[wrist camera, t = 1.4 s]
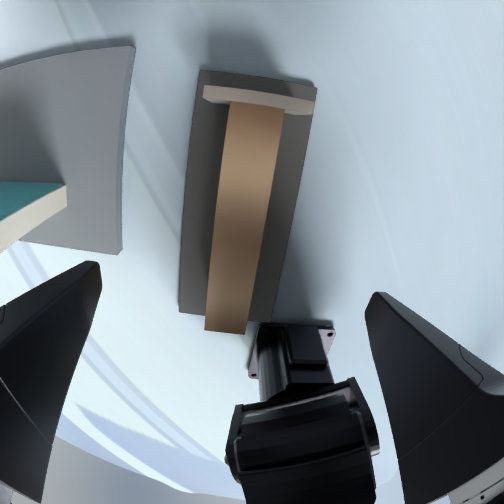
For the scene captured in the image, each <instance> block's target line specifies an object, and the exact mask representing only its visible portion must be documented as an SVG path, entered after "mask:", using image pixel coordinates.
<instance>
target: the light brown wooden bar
mask: <svg viewBox="0 0 504 504" xmlns="http://www.w3.org/2000/svg"><path fill="white" fill-rule="evenodd" d="M203 98H204V99H206V100H208V101H210V102H211V103H218V104H228V105H230V109H229V115H228V122H227V129H226V136H225V143H224V150H223V157H222V165H221V172H220V180H219V188H218V196H217V205H216V213H215V222H214V231H213V240H212V250H211V260H210V270H209V281H208V292H207V304H206V316H205V329H204V330H207V331H215V332H224V333H233V334H243V335H245V331H246V325H247V320H248V315H249V309H250V304H251V298H252V293H253V287H254V282H255V276H256V271H257V265H258V260H259V254H260V249H261V243H262V238H263V232H264V226H265V221H266V215H267V209H268V204H269V198H270V192H271V187H272V181H273V175H274V170H275V164H276V158H277V152H278V147H279V141H280V135H281V129H282V123H283V117H284V113H287V114H293V115H310V114H313V112H314V106H315V102H312V101H308V100H303V99H298V98H293V97H288V96H283V95H277V94H272V93H266V92H259V91H252V90H245V89H237V88H229V87H220V86H209V85H204V91H203Z"/></svg>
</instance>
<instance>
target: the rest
mask: <svg viewBox="0 0 504 504" xmlns="http://www.w3.org/2000/svg"><path fill="white" fill-rule="evenodd" d="M204 85H209V86H220V87H229V88H237V89H245V90H252V91H259V92H266V93H272V94H277V95H283V96H288V97H293V98H298V99H303V100H308V101H312V102H315V100H316V94H317V88H316V87H311V86H307V85H302V84H297V83H293V82H287V81H282V80H277V79H271V78H265V77H258V76H251V75H244V74H236V73H227V72H217V71H205V70H200V75H199V81H198V88H197V94H196V101H195V108H194V115H193V123H192V130H191V139H190V147H189V156H188V165H187V175H186V186H185V197H184V210H183V224H182V240H181V259H180V284H179V312H181V313H188V314H196V315H203V316H206V304H207V292H208V281H209V270H210V260H211V250H212V240H213V231H214V222H215V213H216V205H217V196H218V188H219V180H220V172H221V165H222V157H223V150H224V143H225V136H226V129H227V122H228V115H229V109H230V105H228V104H218V103H211V102H210V101H208V100H206V99H204V98H203V91H204ZM312 117H313V114H310V115H293V114H287V113H284V117H283V123H282V129H281V135H280V141H279V147H278V152H277V158H276V164H275V170H274V175H273V181H272V187H271V192H270V198H269V204H268V209H267V215H266V221H265V226H264V232H263V238H262V243H261V249H260V254H259V260H258V265H257V271H256V276H255V282H254V287H253V293H252V298H251V304H250V309H249V315H248V321H258V322H270V318H271V314H272V310H273V306H274V301H275V297H276V293H277V288H278V284H279V280H280V275H281V271H282V266H283V262H284V257H285V253H286V248H287V244H288V239H289V234H290V230H291V225H292V220H293V215H294V210H295V206H296V201H297V196H298V191H299V186H300V181H301V176H302V170H303V165H304V160H305V155H306V150H307V144H308V139H309V133H310V128H311V122H312Z"/></svg>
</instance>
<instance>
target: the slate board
mask: <svg viewBox="0 0 504 504" xmlns="http://www.w3.org/2000/svg"><path fill="white" fill-rule="evenodd" d="M135 52H136V48H134V47H132V46H120V47H108V48H99V49H91V50H83V51H77V52H71V53H65V54H59V55H54V56H49V57H45V58H40V59H36V60H32V61H28V62H24V63H20V64H17V65H13V66H10V67H6V68H3V69H0V182H39V183H62V185H66V196H67V206H66V207H65V208H63V209H62V210H60V211H59V212H57V213H56V214H54V215H53V216H51V217H50V218H48V219H47V220H45V221H44V222H42V223H41V224H39V225H38V226H36V227H35V228H34V229H32V230H31V231H29V232H28V233H27V234H25V235H24V236H22V237H21V238H20V239H18V240H20V241H26V242H32V243H39V244H45V245H51V246H58V247H64V248H71V249H78V250H84V251H91V252H98V253H105V254H112V255H118V254H119V253H120V251H121V250H122V167H123V149H124V136H125V124H126V114H127V105H128V97H129V90H130V82H131V76H132V70H133V64H134V58H135Z"/></svg>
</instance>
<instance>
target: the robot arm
mask: <svg viewBox="0 0 504 504" xmlns="http://www.w3.org/2000/svg"><path fill="white" fill-rule="evenodd" d="M101 291H102V279H101V272H100V265H99V263H98V262H95V261H88V260H87V261H84V262H82V263H80V264H78V265H77V266H75V267H73V268H71V269H69V270H67V271H65V272H63V273H61V274H59V275H57V276H55V277H53V278H52V279H50V280H48V281H46V282H44V283H42V284H40V285H39V286H37V287H35V288H33V289H31V290H30V291H28V292H26V293H24V294H22V295H21V296H19V297H17V298H15V299H14V300H12V301H10V302H8V303H7V304H6V305H3V306H1V307H0V504H12V503H11V498H12V493H13V491H15V492H17V493H19V494H21V495H23V496H25V497H27V498H29V499H31V500H33V501H35V502H37V503H41V500H42V495H43V489H44V483H45V478H46V473H47V468H48V463H49V458H50V454H51V450H52V444H53V440H54V437H55V433H56V429H57V425H58V422H59V418H60V415H61V411H62V408H63V405H64V401H65V398H66V395H67V392H68V389H69V386H70V383H71V380H72V377H73V374H74V371H75V368H76V365H77V363H78V360H79V357H80V354H81V352H82V349H83V346H84V344H85V341H86V339H87V336H88V334H89V331H90V328H91V325H92V321H93V318H94V314H95V311H96V307H97V304H98V301H99V297H100V294H101ZM365 321H366V326H367V331H368V336H369V341H370V347H371V351H372V356H373V360H374V363H375V367H376V370H377V374H378V377H379V381H380V385H381V389H382V392H383V396H384V400H385V404H386V408H387V413H388V417H389V421H390V425H391V430H392V434H393V439H394V444H395V448H396V453H397V459H398V464H399V470H400V475H401V481H402V487H403V494H404V500H405V504H430V503H432V502H434V501H436V500H439V499H441V498H443V497H445V496H447V495H448V497H449V500H450V504H504V375H503V374H502V373H500V372H499V371H497V370H496V369H494V368H493V367H491V366H490V365H488V364H487V363H485V362H484V361H482V360H481V359H479V358H478V357H477V356H475V355H474V354H472V353H471V352H470V351H468V350H467V349H465V348H464V347H463V346H461V345H460V344H458V343H457V342H456V341H454V340H453V339H452V338H450V337H449V336H447V335H446V334H445V333H443V332H442V331H441V330H439V329H438V328H436V327H435V326H434V325H432V324H431V323H429V322H428V321H426V320H425V319H424V318H422V317H421V316H419V315H418V314H417V313H415V312H414V311H412V310H411V309H409V308H408V307H406V306H405V305H404V304H402V303H401V302H399V301H398V300H396V299H395V298H393V297H392V296H390V295H389V294H388V293H386V292H374V293H373V295H372V297H371V299H370V301H369V303H368V306H367V308H366V310H365ZM263 328H267V329H263ZM329 332H331V333H329ZM328 333H329V334H328ZM335 335H336V332H335V329H334V328H333V327H324V326H307V325H293V324H280V323H268V322H263V323H260V324H259V326H258V330H257V334H256V339H255V343H254V348H253V352H252V357H251V361H250V366H249V370H248V376H249V377H250V378H252V379H259V392H260V402H257V403H252V404H246V405H243V404H240V405H236V406H235V410H234V414H233V416H232V421H231V426H230V430H229V435H228V440H227V444H226V449H225V451H226V455H225V463H226V464H227V465H228V466H229V467H230V470H231V473H232V475H233V477H234V479H235V481H236V482H237V483H239V484H241V486H242V488H243V492H244V495H245V499H246V504H374V503H375V500H376V494H375V489H376V483H375V476H374V470H373V465H372V459H371V457H372V456H375V455H378V454H379V452H380V447H379V438H378V433H377V429H376V425H375V422H374V419H373V416H372V413H371V411H370V408H369V406H368V404H367V402H366V400H365V398H364V396H363V394H362V392H361V389H360V387H359V385H358V383H357V381H356V379H355V377H351V378H348V379H347V380H346V381H343V382H339V383H336V384H335V383H334V380H333V376H332V373H331V370H330V367H329V363H328V358H327V354H328V352H329V349H330V347H331V345H332V342H333V340H334V337H335ZM253 373H255V374H253Z"/></svg>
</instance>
